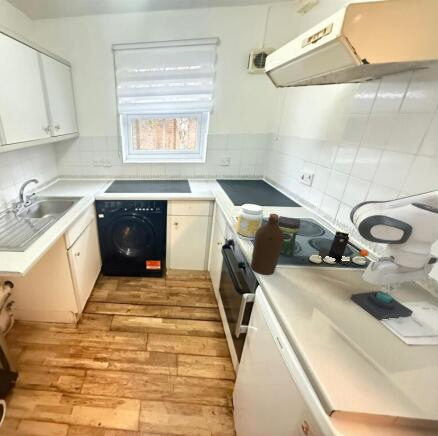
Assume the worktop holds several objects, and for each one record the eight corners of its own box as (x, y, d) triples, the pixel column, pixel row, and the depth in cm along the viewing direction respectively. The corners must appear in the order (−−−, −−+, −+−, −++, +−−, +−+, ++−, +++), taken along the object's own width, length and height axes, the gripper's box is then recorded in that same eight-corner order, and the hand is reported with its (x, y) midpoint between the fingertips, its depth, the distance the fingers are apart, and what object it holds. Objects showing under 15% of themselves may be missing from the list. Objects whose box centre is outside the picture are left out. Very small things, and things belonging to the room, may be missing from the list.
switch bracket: (349, 258, 109) (359, 234, 104) (351, 268, 102) (361, 242, 97) (318, 251, 116) (326, 227, 111) (317, 259, 109) (326, 234, 104)
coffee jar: (292, 252, 114) (302, 217, 107) (292, 260, 108) (302, 223, 101) (270, 247, 119) (278, 213, 112) (268, 254, 113) (277, 218, 105)
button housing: (378, 295, 86) (382, 286, 85) (410, 316, 77) (415, 307, 76) (350, 299, 85) (353, 290, 83) (379, 320, 76) (383, 311, 74)
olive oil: (281, 275, 98) (296, 219, 88) (257, 276, 97) (269, 220, 87) (267, 261, 107) (278, 209, 98) (244, 262, 106) (254, 210, 97)
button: (381, 294, 82) (383, 290, 81) (393, 302, 78) (395, 298, 78) (372, 296, 81) (374, 291, 80) (384, 303, 78) (386, 299, 77)
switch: (363, 256, 103) (370, 251, 102) (364, 259, 101) (371, 254, 99) (335, 236, 107) (341, 232, 105) (335, 239, 105) (341, 234, 103)
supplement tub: (242, 229, 139) (247, 201, 132) (263, 236, 130) (269, 207, 124) (231, 235, 131) (235, 206, 125) (252, 243, 123) (258, 213, 116)
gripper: (386, 263, 69) (369, 301, 74) (444, 258, 71) (423, 294, 77) (365, 252, 74) (350, 288, 80) (419, 248, 77) (401, 282, 83)
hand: (386, 291), depth 78 cm, fingers closed
